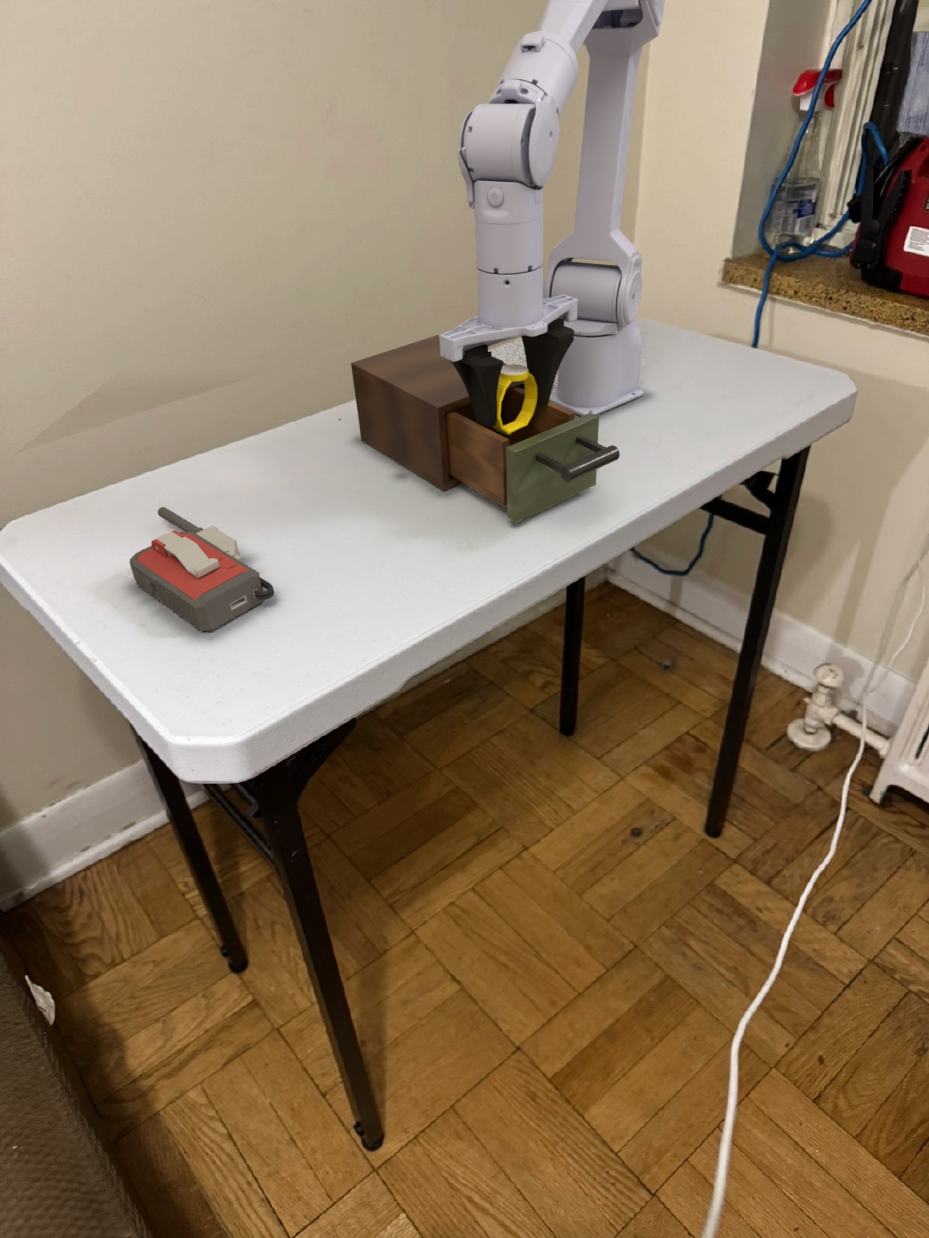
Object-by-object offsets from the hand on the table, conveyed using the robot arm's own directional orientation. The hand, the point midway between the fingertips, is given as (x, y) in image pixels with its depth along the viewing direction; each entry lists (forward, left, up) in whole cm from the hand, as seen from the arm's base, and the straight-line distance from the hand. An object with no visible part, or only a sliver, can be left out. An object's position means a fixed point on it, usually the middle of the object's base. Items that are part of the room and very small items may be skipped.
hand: (512, 412), depth 83 cm
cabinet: (0, -12, -8) cm, 14 cm away
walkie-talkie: (+32, -8, -8) cm, 34 cm away
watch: (0, 0, -2) cm, 2 cm away
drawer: (0, +2, -7) cm, 7 cm away
